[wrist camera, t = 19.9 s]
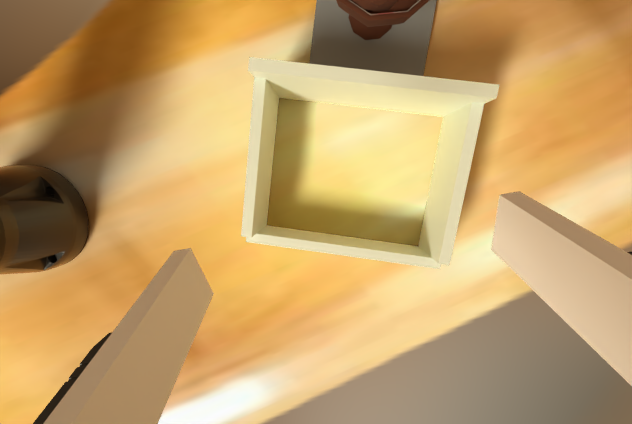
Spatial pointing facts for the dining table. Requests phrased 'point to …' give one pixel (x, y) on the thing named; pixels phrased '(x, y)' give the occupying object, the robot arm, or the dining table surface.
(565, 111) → the dining table surface
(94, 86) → the dining table surface
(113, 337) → the robot arm
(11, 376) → the dining table surface
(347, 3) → the ice cream bowl
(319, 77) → the drawer
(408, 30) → the slate mat
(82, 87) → the dining table surface
